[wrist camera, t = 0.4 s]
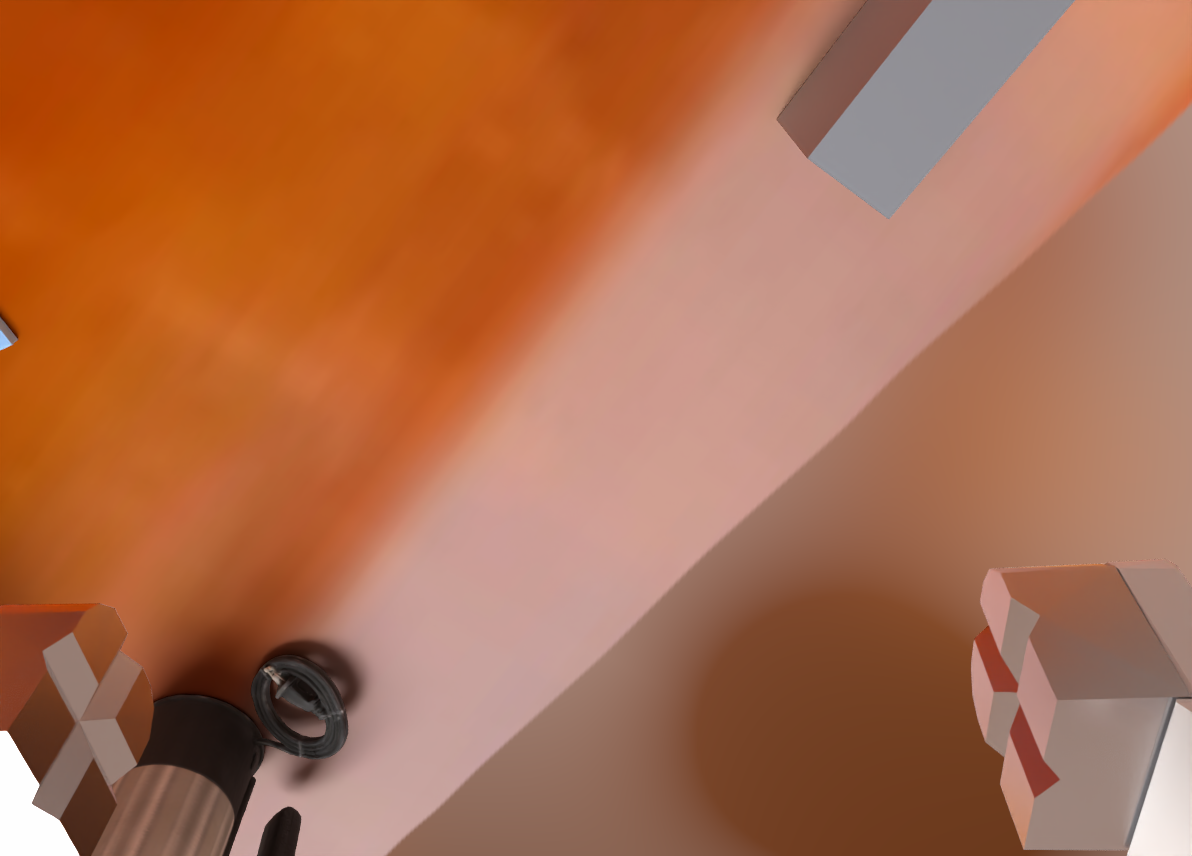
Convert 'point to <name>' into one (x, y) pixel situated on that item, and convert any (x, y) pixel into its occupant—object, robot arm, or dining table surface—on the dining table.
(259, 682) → the milk frother
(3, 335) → the light blue flat slab
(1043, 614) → the robot arm
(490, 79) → the dining table surface
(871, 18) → the grey block
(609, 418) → the dining table surface
